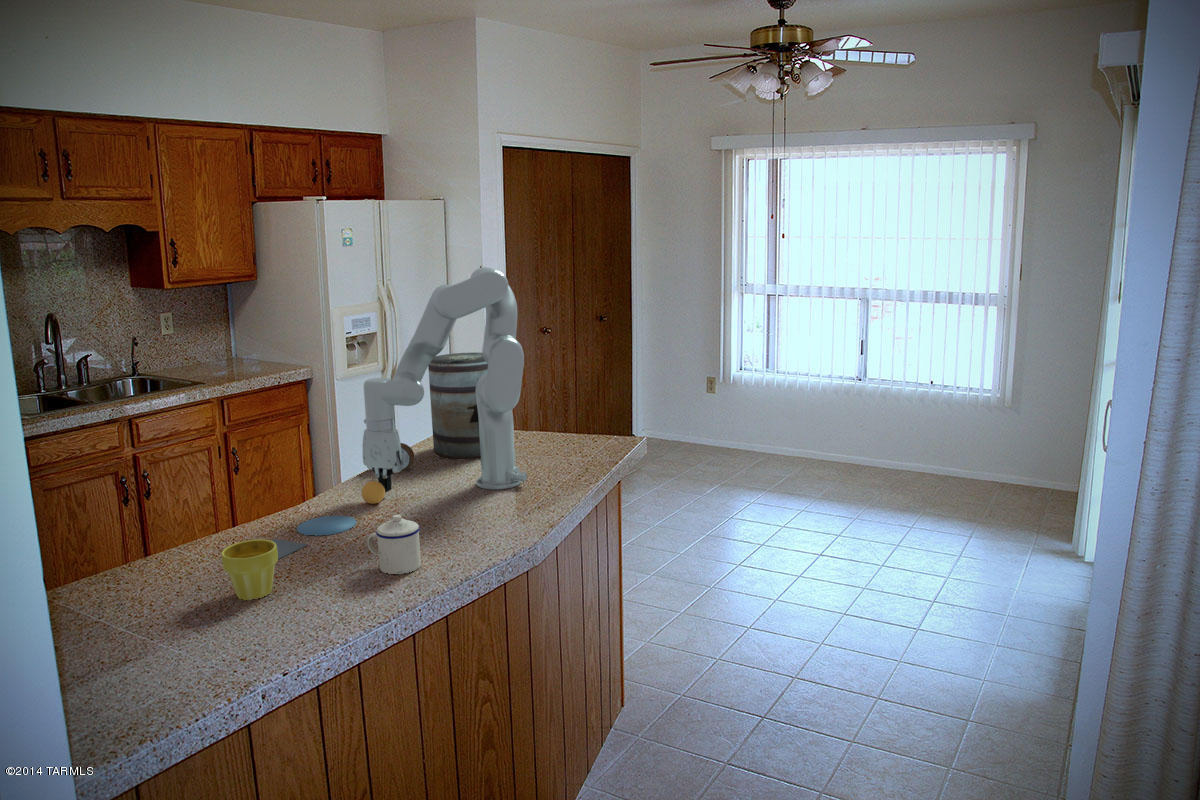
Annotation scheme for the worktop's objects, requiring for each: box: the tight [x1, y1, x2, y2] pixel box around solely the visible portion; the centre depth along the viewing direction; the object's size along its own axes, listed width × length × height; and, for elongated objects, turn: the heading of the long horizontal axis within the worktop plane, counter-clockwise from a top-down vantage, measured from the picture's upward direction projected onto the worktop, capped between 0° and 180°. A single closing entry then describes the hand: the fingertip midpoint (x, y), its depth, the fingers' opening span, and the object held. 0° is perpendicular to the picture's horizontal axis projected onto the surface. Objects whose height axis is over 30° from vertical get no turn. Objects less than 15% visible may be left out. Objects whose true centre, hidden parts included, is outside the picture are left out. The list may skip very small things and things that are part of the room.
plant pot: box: [221, 538, 279, 601], centre depth 177 cm, size 10×10×10 cm
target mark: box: [296, 515, 357, 537], centre depth 217 cm, size 14×14×1 cm
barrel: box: [427, 352, 488, 460], centre depth 281 cm, size 22×22×30 cm
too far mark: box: [271, 538, 309, 560], centre depth 202 cm, size 10×10×1 cm
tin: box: [393, 442, 415, 472], centre depth 262 cm, size 15×3×8 cm, turn 84°
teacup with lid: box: [366, 514, 422, 575], centre depth 189 cm, size 12×9×12 cm
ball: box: [361, 480, 386, 505], centre depth 232 cm, size 6×6×6 cm
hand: (385, 491), depth 237 cm, fingers closed
